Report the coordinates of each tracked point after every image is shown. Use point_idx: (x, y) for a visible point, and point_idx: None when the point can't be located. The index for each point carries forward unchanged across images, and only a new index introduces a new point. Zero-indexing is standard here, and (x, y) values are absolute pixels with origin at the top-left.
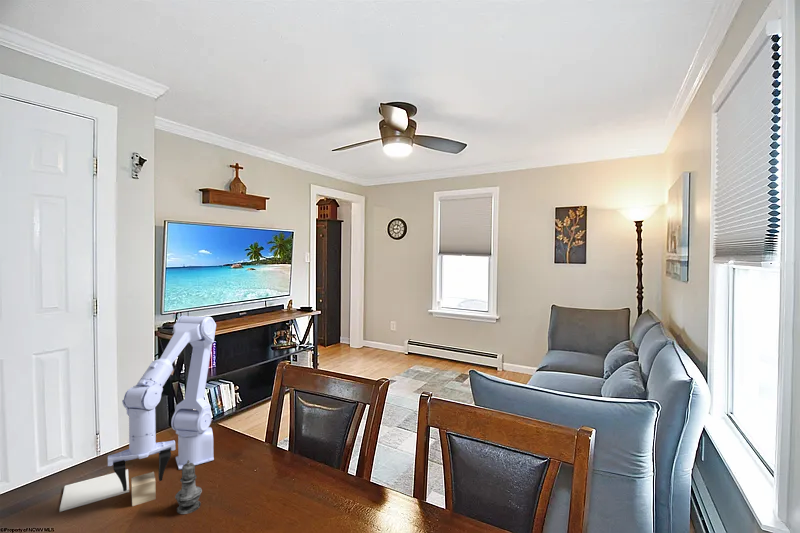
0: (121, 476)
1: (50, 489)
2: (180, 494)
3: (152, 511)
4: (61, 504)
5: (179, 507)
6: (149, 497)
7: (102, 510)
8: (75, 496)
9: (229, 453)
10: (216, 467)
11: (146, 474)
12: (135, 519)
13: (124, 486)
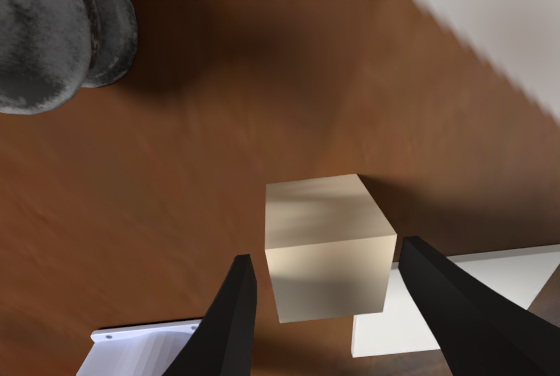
0: (523, 320)
1: None
2: None
3: (272, 81)
4: (551, 272)
5: (112, 13)
6: (291, 189)
7: (455, 195)
8: (504, 294)
9: (50, 345)
10: (64, 294)
11: (314, 313)
12: (352, 42)
13: (432, 254)
